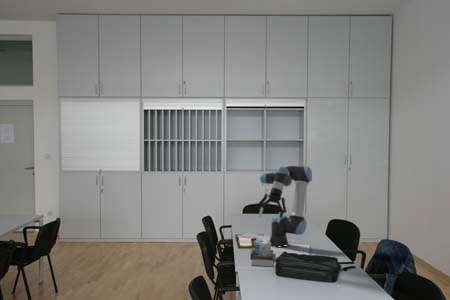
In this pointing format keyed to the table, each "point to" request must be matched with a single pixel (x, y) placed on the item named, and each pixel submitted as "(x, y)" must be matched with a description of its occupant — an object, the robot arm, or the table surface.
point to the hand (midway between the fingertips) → (268, 219)
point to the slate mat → (262, 263)
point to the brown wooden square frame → (261, 256)
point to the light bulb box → (262, 248)
